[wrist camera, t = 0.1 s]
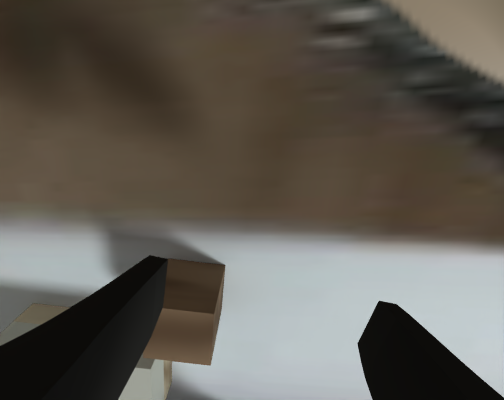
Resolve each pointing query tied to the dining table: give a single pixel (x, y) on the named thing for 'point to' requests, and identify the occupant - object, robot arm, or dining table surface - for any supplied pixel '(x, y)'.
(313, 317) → the dining table surface
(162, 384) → the slab top
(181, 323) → the walnut block
